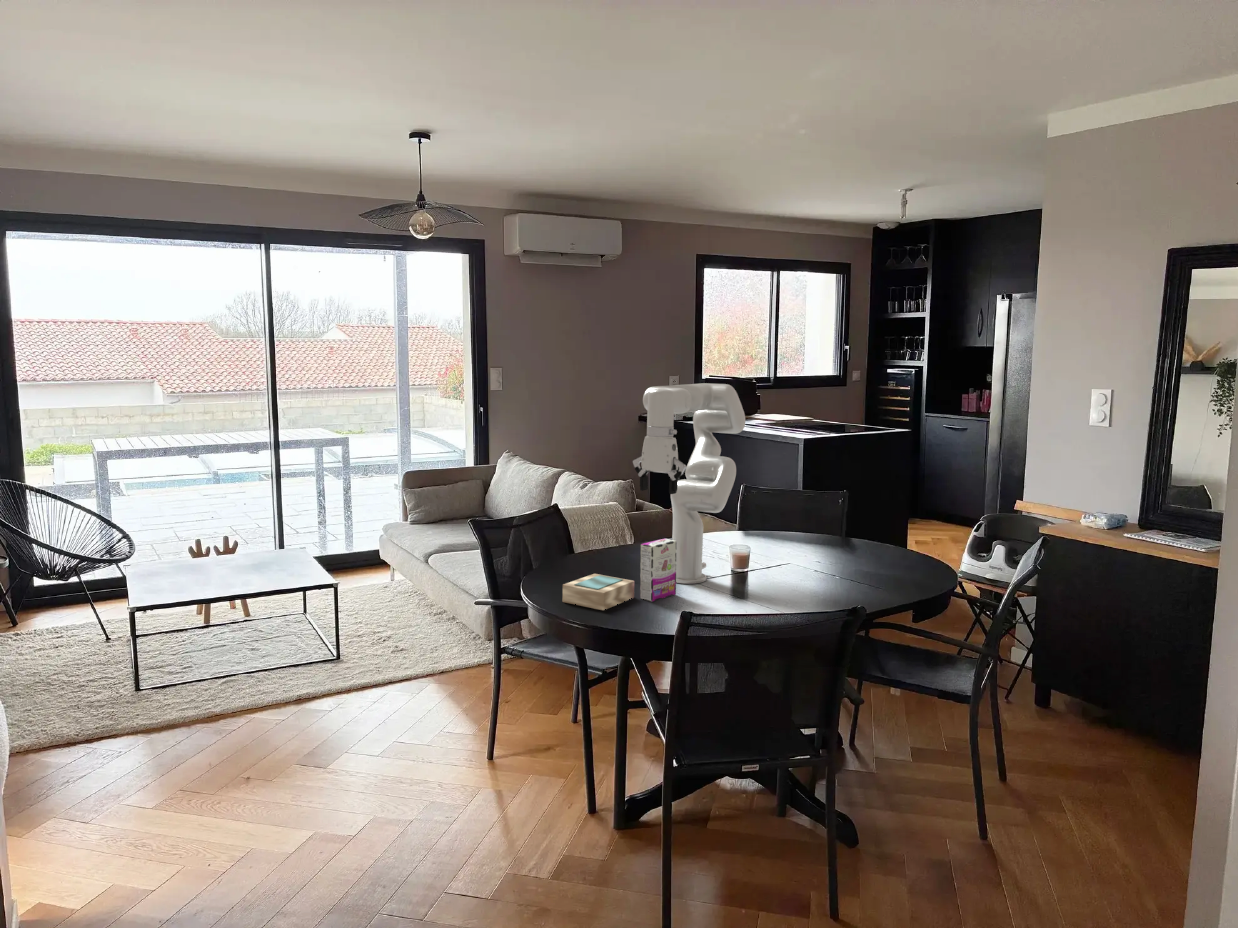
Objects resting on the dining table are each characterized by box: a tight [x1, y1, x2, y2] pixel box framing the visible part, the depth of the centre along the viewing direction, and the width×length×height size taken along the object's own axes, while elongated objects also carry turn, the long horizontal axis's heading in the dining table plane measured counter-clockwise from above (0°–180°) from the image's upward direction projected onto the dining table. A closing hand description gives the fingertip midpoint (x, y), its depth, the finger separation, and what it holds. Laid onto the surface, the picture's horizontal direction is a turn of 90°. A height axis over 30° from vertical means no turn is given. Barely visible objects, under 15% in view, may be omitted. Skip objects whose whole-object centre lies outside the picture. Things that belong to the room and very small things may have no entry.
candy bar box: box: [639, 538, 677, 602], centre depth 268 cm, size 11×5×16 cm, turn 137°
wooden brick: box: [561, 573, 635, 611], centre depth 264 cm, size 16×14×5 cm
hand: (658, 491), depth 265 cm, fingers open, 9 cm apart
